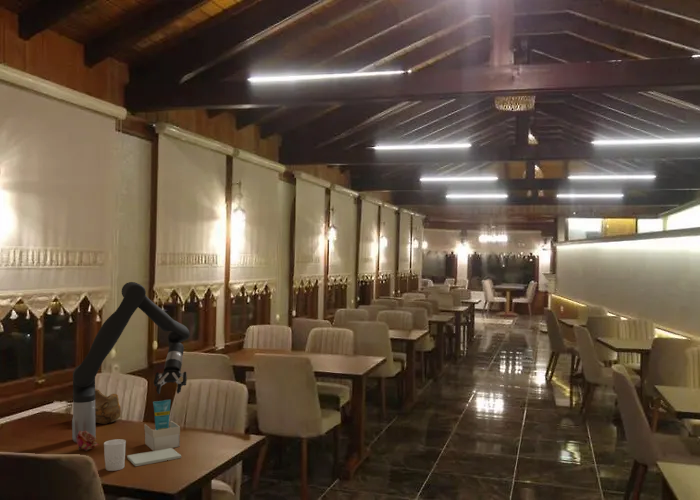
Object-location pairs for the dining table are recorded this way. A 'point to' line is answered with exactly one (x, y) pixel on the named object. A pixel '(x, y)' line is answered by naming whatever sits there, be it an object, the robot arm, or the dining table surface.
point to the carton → (163, 437)
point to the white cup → (114, 454)
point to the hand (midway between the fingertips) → (168, 392)
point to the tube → (161, 414)
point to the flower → (86, 440)
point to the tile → (153, 456)
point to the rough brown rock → (106, 408)
